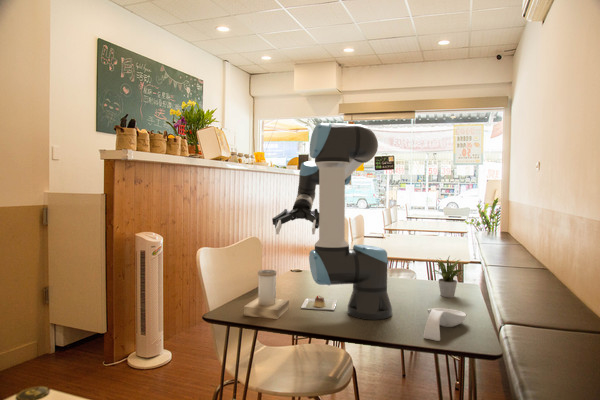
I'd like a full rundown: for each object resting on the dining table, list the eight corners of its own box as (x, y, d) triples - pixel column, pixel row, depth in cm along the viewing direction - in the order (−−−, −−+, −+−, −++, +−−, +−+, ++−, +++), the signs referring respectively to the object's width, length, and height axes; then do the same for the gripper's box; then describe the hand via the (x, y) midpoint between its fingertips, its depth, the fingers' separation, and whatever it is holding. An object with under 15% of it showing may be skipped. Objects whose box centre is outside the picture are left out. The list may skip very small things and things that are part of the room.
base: (288, 308, 144) (289, 300, 144) (277, 319, 133) (277, 310, 133) (257, 305, 148) (257, 297, 147) (243, 315, 136) (243, 306, 136)
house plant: (426, 299, 158) (427, 257, 158) (424, 290, 172) (425, 252, 171) (465, 301, 155) (466, 259, 154) (460, 292, 168) (461, 253, 168)
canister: (278, 301, 142) (278, 270, 142) (272, 306, 136) (272, 273, 136) (261, 300, 144) (261, 269, 144) (255, 304, 138) (255, 272, 138)
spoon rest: (432, 315, 138) (432, 295, 138) (469, 322, 132) (469, 300, 132) (411, 337, 118) (412, 312, 118) (454, 345, 112) (454, 320, 112)
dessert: (305, 301, 156) (306, 288, 155) (337, 303, 154) (337, 290, 153) (300, 310, 144) (300, 297, 144) (334, 312, 142) (334, 299, 142)
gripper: (333, 214, 169) (329, 240, 150) (274, 214, 173) (263, 239, 154) (332, 197, 166) (327, 222, 146) (272, 198, 170) (261, 222, 151)
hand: (294, 231), depth 150 cm, fingers open, 13 cm apart
